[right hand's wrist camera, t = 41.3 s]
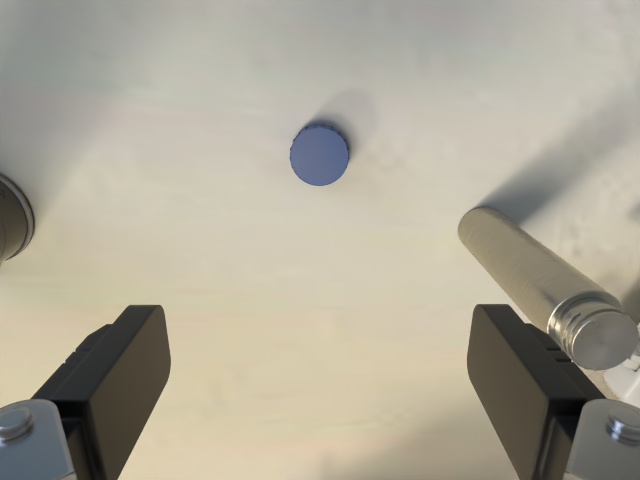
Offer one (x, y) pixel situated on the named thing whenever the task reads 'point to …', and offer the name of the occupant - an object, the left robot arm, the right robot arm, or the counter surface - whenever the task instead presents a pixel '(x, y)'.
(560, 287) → the metal cylinder
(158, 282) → the counter surface
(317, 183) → the lid
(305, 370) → the counter surface
